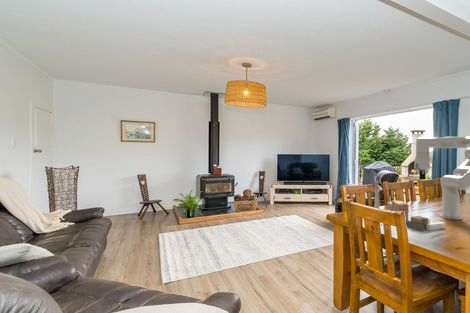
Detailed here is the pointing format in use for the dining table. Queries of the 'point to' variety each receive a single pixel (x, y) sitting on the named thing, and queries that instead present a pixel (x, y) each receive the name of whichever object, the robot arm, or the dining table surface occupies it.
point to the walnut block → (420, 220)
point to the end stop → (415, 225)
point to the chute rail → (435, 226)
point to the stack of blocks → (398, 207)
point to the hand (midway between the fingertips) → (422, 179)
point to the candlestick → (376, 195)
